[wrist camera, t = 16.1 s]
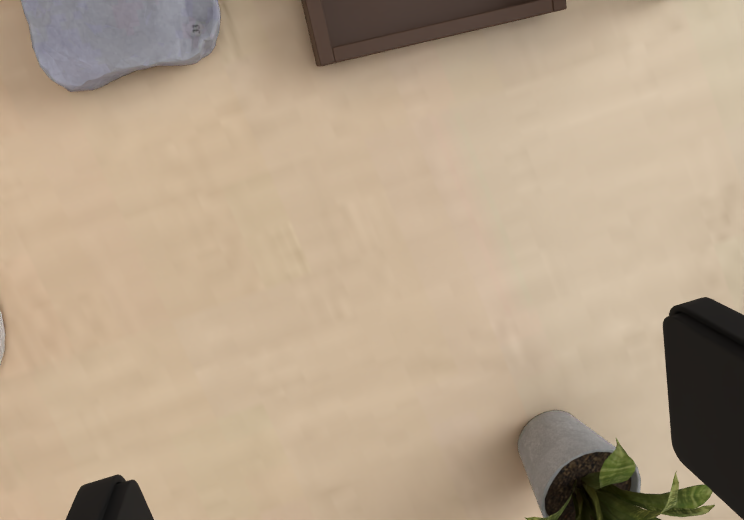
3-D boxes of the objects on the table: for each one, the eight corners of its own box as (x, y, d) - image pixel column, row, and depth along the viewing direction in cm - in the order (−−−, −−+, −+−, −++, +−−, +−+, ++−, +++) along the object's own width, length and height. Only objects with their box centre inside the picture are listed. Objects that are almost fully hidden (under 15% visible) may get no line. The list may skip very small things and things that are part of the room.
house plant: (432, 376, 42) (527, 551, 27) (615, 318, 43) (808, 455, 28) (471, 531, 47) (570, 756, 31) (635, 476, 48) (809, 668, 32)
